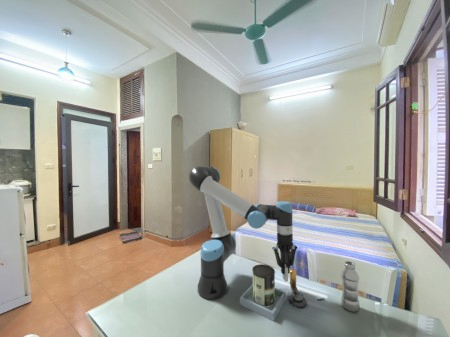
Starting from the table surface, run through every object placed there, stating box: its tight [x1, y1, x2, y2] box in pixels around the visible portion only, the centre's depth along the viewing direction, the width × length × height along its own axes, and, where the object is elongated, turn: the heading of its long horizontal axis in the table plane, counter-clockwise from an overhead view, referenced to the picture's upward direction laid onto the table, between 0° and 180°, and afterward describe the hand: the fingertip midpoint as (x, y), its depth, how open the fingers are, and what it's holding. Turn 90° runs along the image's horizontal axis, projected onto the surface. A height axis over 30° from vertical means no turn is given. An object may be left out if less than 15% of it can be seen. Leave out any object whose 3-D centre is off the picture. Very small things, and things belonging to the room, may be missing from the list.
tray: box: [239, 283, 287, 322], centre depth 87 cm, size 16×16×3 cm
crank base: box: [288, 293, 308, 309], centre depth 87 cm, size 8×8×1 cm
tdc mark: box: [316, 297, 326, 301], centre depth 88 cm, size 4×1×1 cm, turn 96°
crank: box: [289, 268, 304, 302], centre depth 90 cm, size 12×5×8 cm, turn 174°
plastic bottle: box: [340, 260, 360, 313], centre depth 82 cm, size 6×7×20 cm
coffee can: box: [251, 263, 276, 308], centre depth 87 cm, size 10×10×14 cm
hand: (285, 279), depth 94 cm, fingers closed
